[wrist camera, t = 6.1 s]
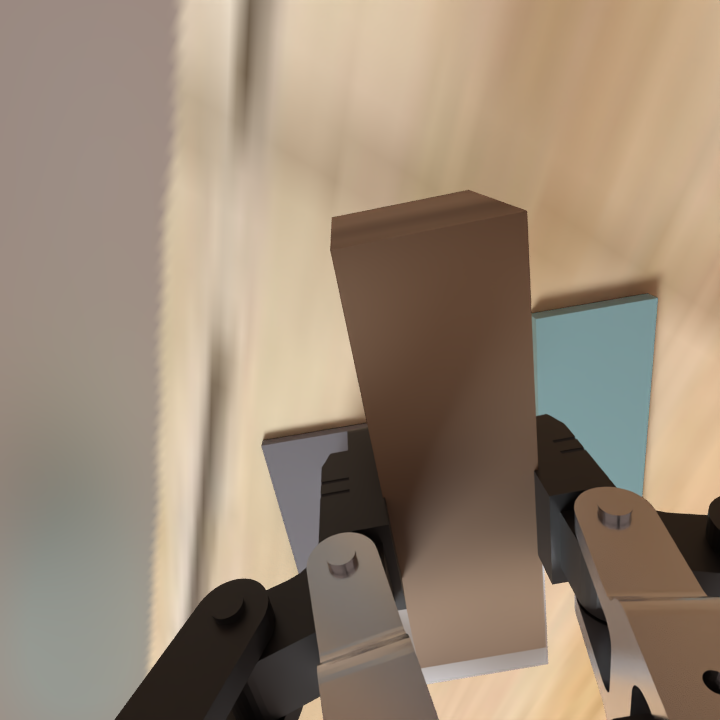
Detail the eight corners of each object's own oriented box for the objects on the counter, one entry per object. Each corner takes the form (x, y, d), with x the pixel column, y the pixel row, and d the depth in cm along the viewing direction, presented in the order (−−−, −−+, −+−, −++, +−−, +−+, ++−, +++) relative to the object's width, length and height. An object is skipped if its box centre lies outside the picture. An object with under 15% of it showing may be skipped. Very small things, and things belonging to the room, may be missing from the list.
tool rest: (529, 313, 29) (535, 319, 28) (647, 293, 29) (657, 298, 28) (536, 543, 36) (541, 553, 35) (631, 528, 36) (638, 538, 35)
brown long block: (287, 226, 11) (265, 262, 7) (514, 180, 10) (594, 197, 7) (394, 665, 17) (408, 788, 14) (538, 640, 17) (587, 759, 13)
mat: (262, 440, 31) (261, 445, 31) (477, 404, 31) (480, 408, 31) (310, 604, 37) (309, 611, 37) (491, 575, 37) (493, 582, 36)
